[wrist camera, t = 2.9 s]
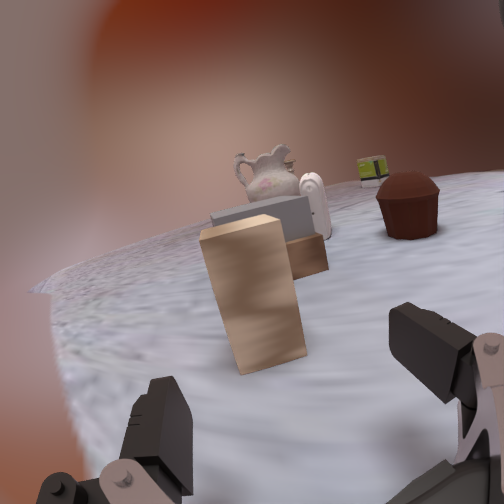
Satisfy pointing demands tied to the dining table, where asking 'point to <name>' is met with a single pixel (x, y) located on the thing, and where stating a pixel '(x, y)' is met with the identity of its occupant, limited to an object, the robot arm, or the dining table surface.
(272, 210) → the slate top block
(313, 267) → the walnut base block
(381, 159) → the tea box
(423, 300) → the dining table surface
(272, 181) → the ceramic pitcher
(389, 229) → the muffin
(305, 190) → the photo printer
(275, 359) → the birch pillar block
